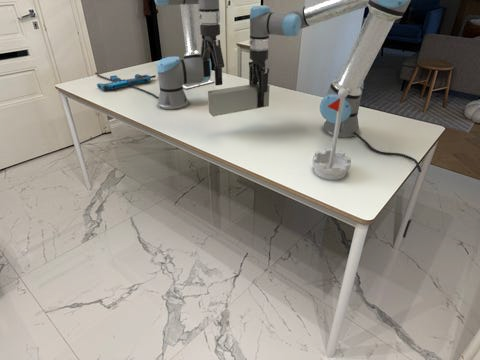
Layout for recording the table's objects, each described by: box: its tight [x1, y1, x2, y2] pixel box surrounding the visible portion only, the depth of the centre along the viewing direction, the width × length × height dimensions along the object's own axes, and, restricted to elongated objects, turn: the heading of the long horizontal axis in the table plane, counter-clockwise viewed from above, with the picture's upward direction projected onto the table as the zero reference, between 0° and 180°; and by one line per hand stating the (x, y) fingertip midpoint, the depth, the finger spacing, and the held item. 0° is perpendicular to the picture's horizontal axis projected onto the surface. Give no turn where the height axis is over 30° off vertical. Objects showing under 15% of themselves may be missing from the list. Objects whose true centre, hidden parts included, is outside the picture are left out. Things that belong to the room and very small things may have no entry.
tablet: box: [183, 79, 214, 90], centre depth 213 cm, size 32×20×1 cm, turn 41°
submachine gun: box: [96, 73, 157, 92], centre depth 207 cm, size 34×4×25 cm
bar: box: [207, 84, 271, 117], centre depth 143 cm, size 26×5×9 cm, turn 115°
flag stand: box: [312, 88, 352, 181], centre depth 113 cm, size 13×13×30 cm
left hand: (212, 80), depth 138 cm, fingers open, 13 cm apart
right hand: (257, 104), depth 148 cm, fingers closed on bar, 5 cm apart
